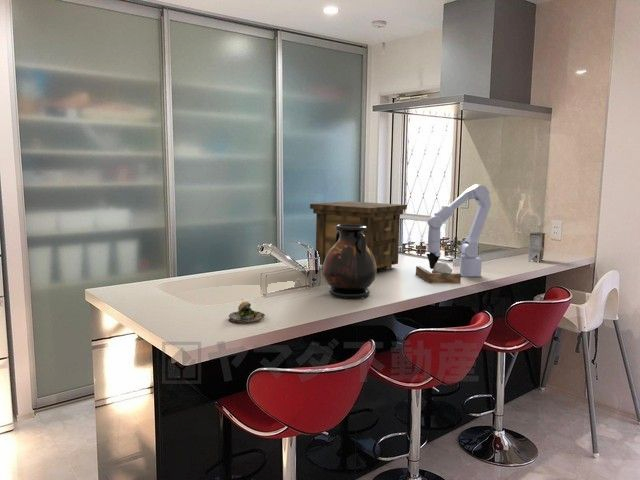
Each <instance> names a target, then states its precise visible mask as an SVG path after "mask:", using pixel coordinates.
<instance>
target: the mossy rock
mask: <svg viewBox="0 0 640 480" xmlns="http://www.w3.org/2000/svg"><path fill="white" fill-rule="evenodd" d="M241 300H242V302H241V303H239V305H238V308H237V311H235V312H231V313H230V314H229V315H228V322H229V323H231V324H234V325H237V324H238V323H239V322H240V323H252V322H253V323H254V322H257V321H260V320H261V319H263V318H264V317H265V316H266V314H265V313H264V312H263V313H262V312H260V311H256V310H253V309H252V308H251V307H252V304H251V303H250V302H248V301H244V300H243V299H241Z"/></svg>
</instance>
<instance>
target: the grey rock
mask: <svg viewBox="0 0 640 480" xmlns="http://www.w3.org/2000/svg"><path fill="white" fill-rule="evenodd" d="M440 272H450V273H453V269H452V268H451V266H450V265H449V264H448V263H447V262H446V261H445V262H441V261H439V262H437V263H436V264H435V266H434V268H433V269H431V273H440Z"/></svg>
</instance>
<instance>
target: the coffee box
mask: <svg viewBox="0 0 640 480" xmlns="http://www.w3.org/2000/svg"><path fill="white" fill-rule="evenodd" d="M545 238H546V233H544V232H537V231H533V232H531V233H529V244H528V245H529V247H528V260H533V261H541V260H542V259H543V260H544V252H545V251H544V250H545ZM541 262H542V261H541Z"/></svg>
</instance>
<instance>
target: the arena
mask: <svg viewBox="0 0 640 480" xmlns="http://www.w3.org/2000/svg"><path fill="white" fill-rule="evenodd" d="M415 275H416V276H418V277H419V278H421V279H422V280H423V281H425V282H427V283H428V284H430V283H431V284H436V283H437V284H441V283H442V284H443V283H445V284H447V283H448V284H450V283H452V284H454V283H455V284H457V283H458V284H459V283H461V280H462V276H461V274H460V273H457V272H451V273H450V272H440V273H432V271H429V270H427V269H426V268H424V267H422V266H420V265H416V267H415Z"/></svg>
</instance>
